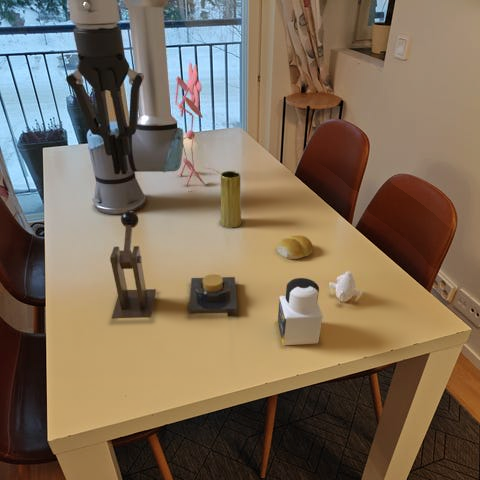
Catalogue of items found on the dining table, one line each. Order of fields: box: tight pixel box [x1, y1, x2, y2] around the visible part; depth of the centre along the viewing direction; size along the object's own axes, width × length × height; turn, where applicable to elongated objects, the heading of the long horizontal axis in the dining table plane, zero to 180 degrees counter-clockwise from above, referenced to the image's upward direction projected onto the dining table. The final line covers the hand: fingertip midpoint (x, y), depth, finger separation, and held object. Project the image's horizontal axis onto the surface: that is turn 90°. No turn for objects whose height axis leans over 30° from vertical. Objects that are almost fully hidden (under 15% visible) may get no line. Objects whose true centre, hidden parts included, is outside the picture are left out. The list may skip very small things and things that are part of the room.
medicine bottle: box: [277, 277, 323, 346], centre depth 84 cm, size 7×7×12 cm
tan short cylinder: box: [202, 273, 223, 292], centre depth 93 cm, size 4×4×2 cm
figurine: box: [174, 62, 219, 193], centre depth 140 cm, size 15×26×35 cm, turn 19°
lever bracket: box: [109, 245, 156, 319], centre depth 89 cm, size 10×8×14 cm
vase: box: [220, 170, 242, 229], centre depth 120 cm, size 6×6×14 cm
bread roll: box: [276, 234, 314, 260], centre depth 111 cm, size 8×9×4 cm
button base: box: [188, 276, 238, 317], centre depth 95 cm, size 12×10×4 cm
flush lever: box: [119, 211, 139, 270], centre depth 88 cm, size 13×4×4 cm, turn 3°
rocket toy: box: [328, 270, 363, 305], centre depth 94 cm, size 5×5×8 cm
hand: (121, 171), depth 84 cm, fingers closed
